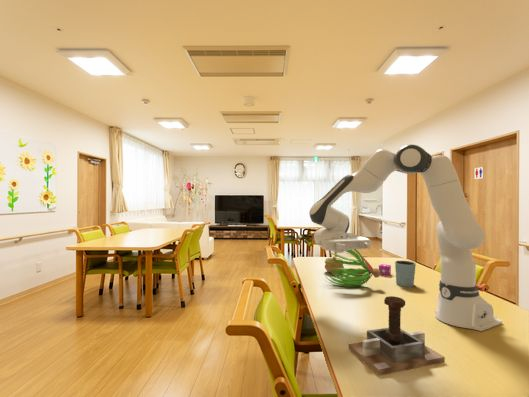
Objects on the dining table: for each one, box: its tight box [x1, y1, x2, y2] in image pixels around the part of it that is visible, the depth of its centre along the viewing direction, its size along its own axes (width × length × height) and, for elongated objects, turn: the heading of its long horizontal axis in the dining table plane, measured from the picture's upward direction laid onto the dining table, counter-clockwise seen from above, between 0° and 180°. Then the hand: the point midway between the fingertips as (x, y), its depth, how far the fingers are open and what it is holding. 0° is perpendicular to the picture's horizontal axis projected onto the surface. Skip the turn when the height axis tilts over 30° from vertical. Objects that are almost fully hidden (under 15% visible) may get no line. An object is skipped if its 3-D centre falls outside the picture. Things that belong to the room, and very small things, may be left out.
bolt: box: [383, 295, 406, 346], centre depth 86 cm, size 6×5×15 cm
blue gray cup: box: [394, 260, 417, 288], centre depth 158 cm, size 10×10×12 cm
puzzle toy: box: [378, 263, 392, 277], centre depth 179 cm, size 6×6×6 cm
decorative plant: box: [324, 249, 382, 288], centre depth 155 cm, size 26×25×30 cm
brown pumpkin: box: [324, 256, 345, 274], centre depth 182 cm, size 12×12×10 cm
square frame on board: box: [347, 327, 446, 376], centre depth 86 cm, size 22×14×6 cm, turn 107°
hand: (357, 247), depth 109 cm, fingers open, 8 cm apart
